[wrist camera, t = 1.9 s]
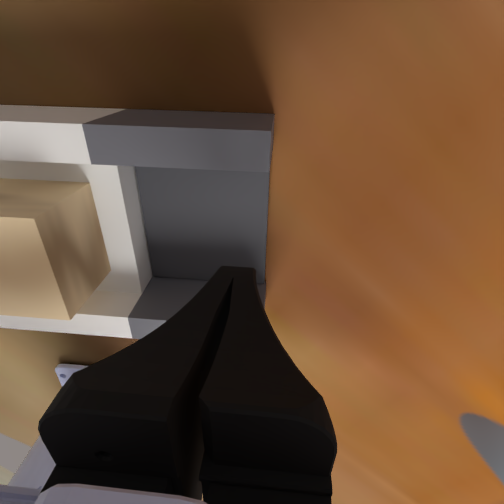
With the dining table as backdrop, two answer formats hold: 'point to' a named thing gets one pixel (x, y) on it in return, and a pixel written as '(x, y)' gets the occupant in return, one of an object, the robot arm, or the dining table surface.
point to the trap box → (126, 193)
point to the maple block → (49, 248)
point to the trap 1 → (204, 220)
